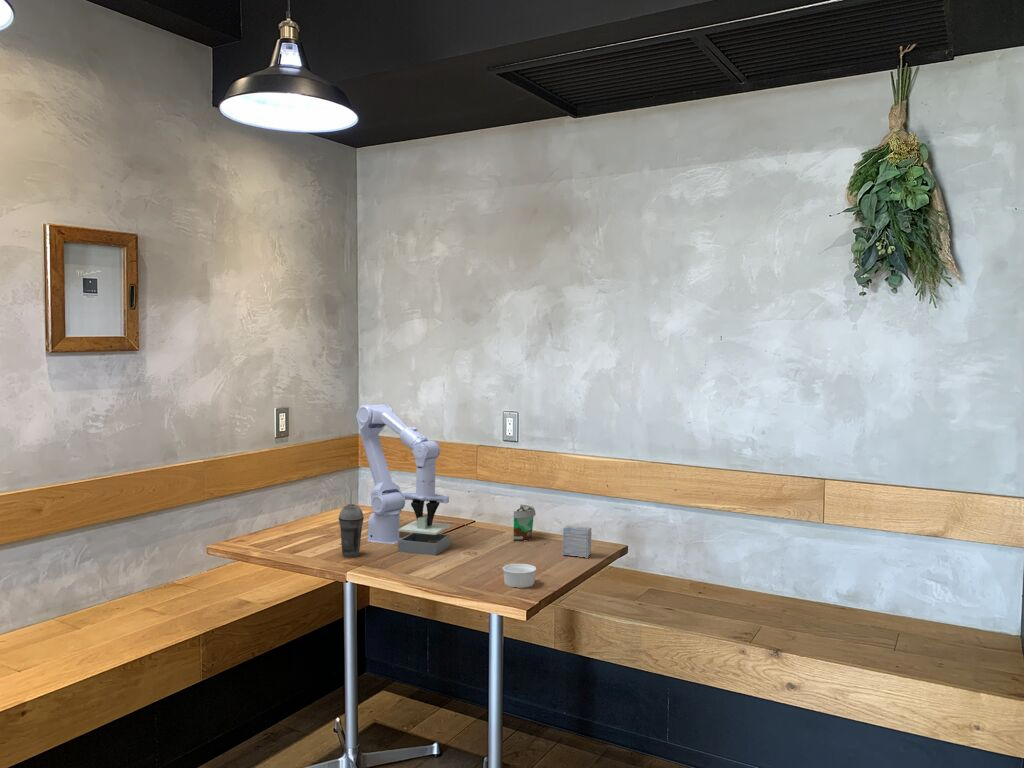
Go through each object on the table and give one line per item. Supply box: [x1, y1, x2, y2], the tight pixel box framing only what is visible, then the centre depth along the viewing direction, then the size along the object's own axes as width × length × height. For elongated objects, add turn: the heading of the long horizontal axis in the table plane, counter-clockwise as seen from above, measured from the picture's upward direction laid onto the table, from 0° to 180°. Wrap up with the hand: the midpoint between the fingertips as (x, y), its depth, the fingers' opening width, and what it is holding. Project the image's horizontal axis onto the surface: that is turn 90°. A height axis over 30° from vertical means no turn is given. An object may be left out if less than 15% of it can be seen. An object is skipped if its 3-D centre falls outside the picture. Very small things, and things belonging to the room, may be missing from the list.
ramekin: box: [502, 563, 537, 589], centre depth 203 cm, size 9×9×4 cm
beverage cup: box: [338, 488, 365, 559], centre depth 224 cm, size 7×7×20 cm
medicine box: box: [562, 524, 592, 557], centre depth 232 cm, size 8×4×9 cm, turn 71°
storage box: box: [397, 533, 451, 556], centre depth 234 cm, size 12×12×4 cm
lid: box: [398, 514, 451, 535], centre depth 233 cm, size 12×12×4 cm
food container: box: [512, 504, 537, 542], centre depth 252 cm, size 12×6×10 cm, turn 168°
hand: (424, 524), depth 234 cm, fingers closed on lid, 2 cm apart
